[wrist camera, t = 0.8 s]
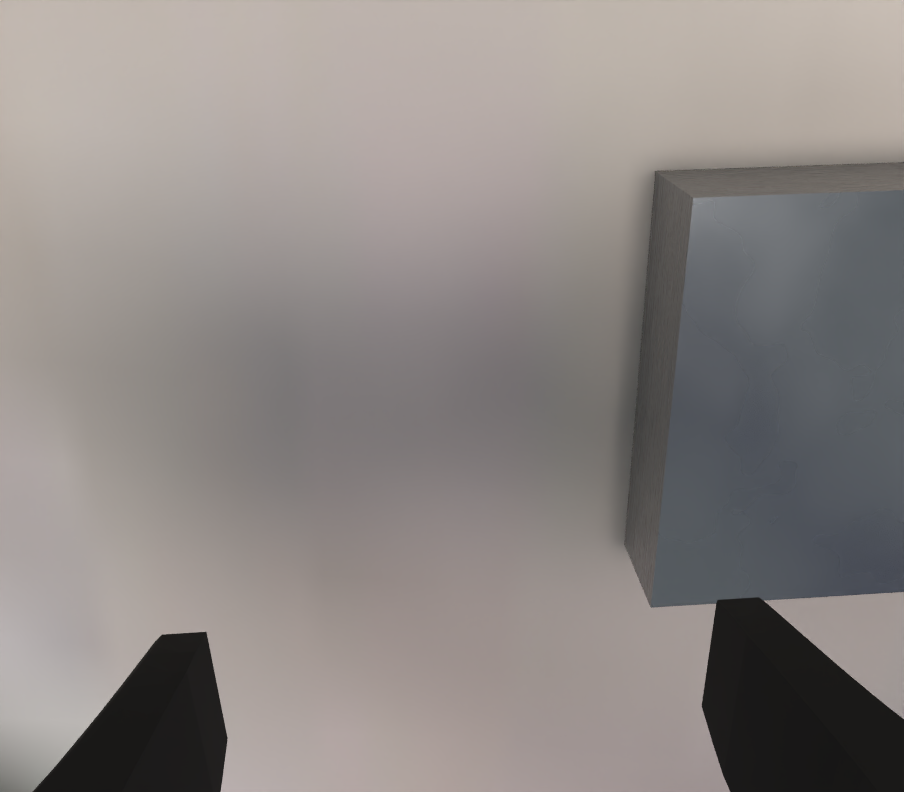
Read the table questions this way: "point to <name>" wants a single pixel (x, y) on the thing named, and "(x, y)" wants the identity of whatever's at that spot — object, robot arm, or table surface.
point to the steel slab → (771, 386)
